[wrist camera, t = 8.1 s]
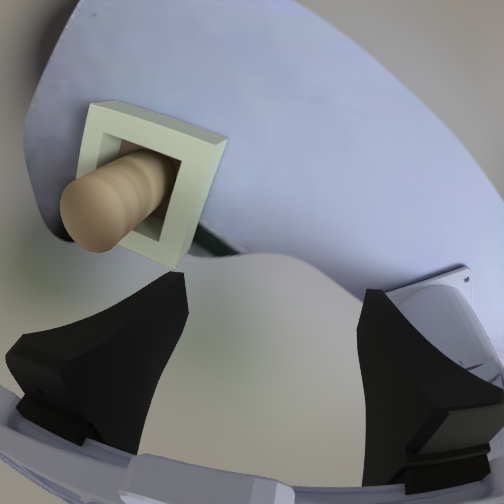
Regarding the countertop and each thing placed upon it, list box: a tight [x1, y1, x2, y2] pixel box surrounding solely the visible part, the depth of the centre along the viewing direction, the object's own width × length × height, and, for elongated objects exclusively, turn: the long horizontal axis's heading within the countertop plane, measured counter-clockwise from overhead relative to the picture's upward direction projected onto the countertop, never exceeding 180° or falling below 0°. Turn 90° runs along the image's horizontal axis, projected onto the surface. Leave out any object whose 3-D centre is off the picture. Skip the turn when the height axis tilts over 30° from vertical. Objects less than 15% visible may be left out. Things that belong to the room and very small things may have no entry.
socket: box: [76, 100, 228, 270], centre depth 19 cm, size 8×8×3 cm
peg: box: [60, 148, 176, 253], centre depth 17 cm, size 4×4×7 cm
